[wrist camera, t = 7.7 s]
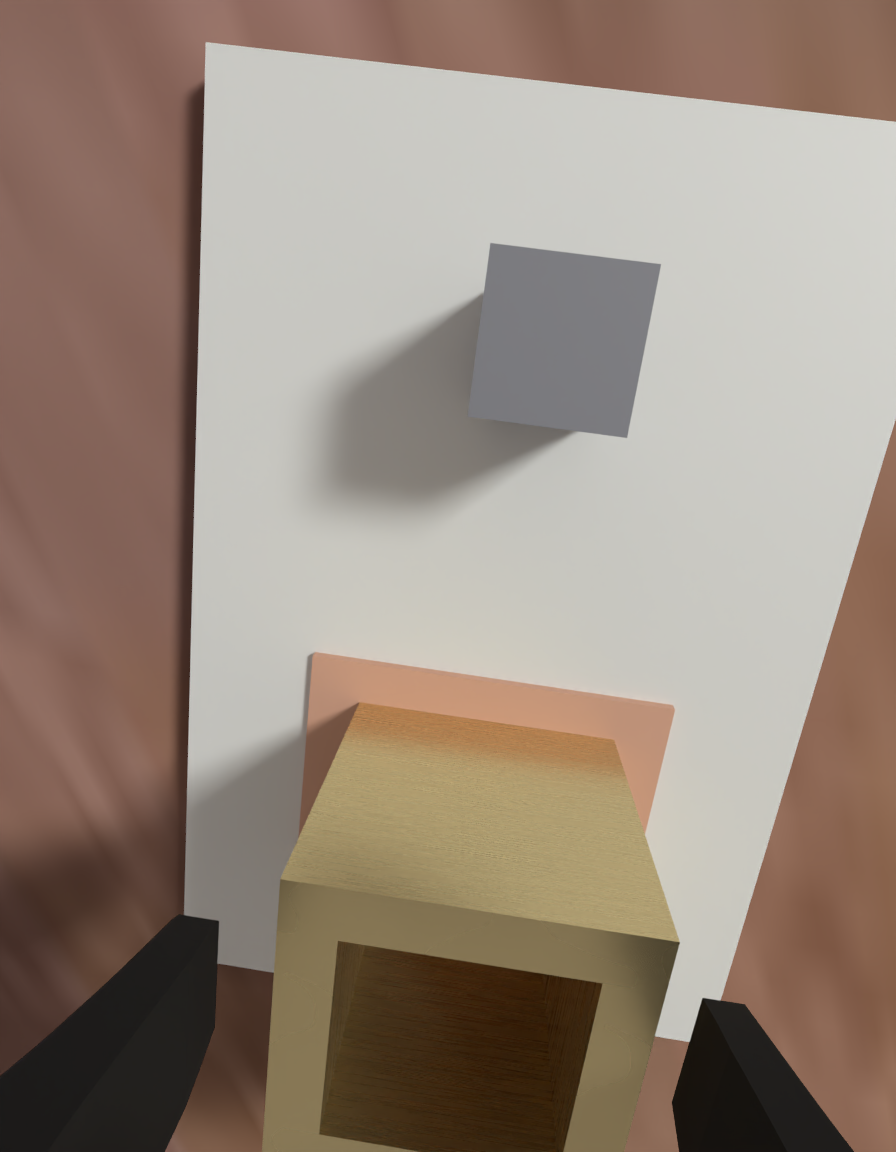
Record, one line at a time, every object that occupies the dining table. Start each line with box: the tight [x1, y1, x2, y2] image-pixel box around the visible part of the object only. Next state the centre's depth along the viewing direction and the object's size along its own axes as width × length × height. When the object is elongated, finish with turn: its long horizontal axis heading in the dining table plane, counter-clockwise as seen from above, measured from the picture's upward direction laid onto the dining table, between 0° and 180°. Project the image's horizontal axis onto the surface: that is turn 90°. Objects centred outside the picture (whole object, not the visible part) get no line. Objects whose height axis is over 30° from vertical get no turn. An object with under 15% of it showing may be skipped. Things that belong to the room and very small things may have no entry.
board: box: [184, 42, 896, 1042], centre depth 12 cm, size 12×18×4 cm, turn 173°
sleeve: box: [262, 702, 680, 1152], centre depth 12 cm, size 5×5×5 cm
